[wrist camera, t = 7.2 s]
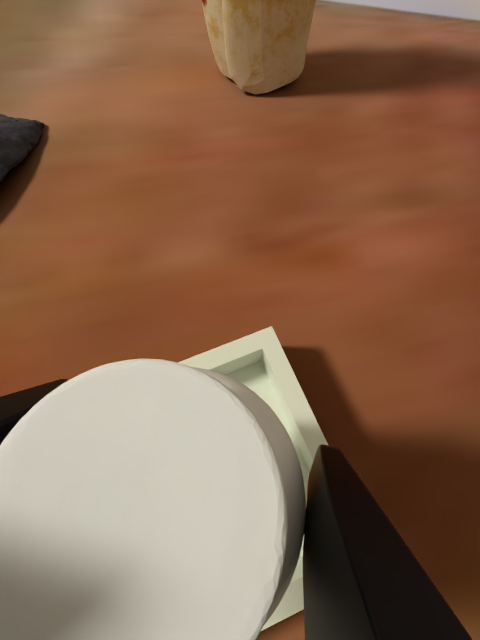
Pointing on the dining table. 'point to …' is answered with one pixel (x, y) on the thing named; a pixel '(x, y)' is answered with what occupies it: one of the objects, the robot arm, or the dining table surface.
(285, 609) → the bin
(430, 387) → the dining table surface
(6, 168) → the dark slate chunk
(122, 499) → the supplement bottle
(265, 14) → the food model
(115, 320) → the dining table surface
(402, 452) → the dining table surface
